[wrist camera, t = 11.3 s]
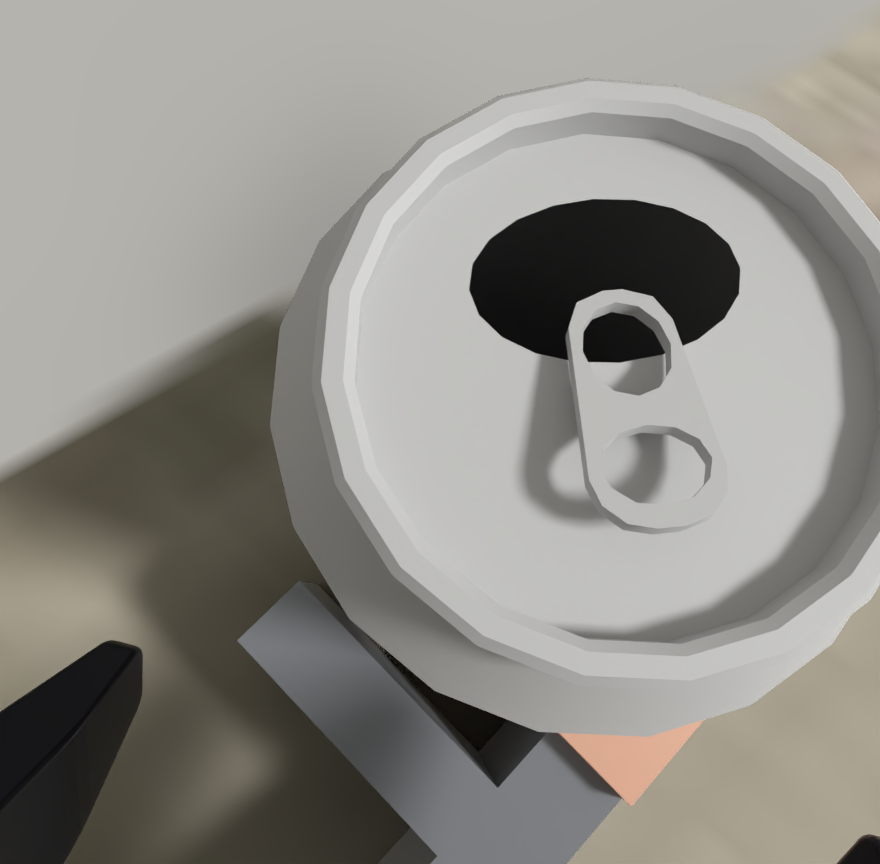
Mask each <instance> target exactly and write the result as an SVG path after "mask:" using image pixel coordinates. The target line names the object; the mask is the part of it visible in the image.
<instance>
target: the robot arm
mask: <svg viewBox="0 0 880 864" xmlns="http://www.w3.org/2000/svg"><path fill="white" fill-rule="evenodd" d="M142 671H143V656H142V651H141V649H140V648H139V647H137V646H134V645H130V644H126V643H122V642H118V641H113V640H110V641H106V642H104V643H102V644H100V645H99V646H97V647H96V648H94V649H93V650H91V651H90V652H88V653H87V654H85V655H84V656H82V657H81V658H79V659H78V660H76V661H75V662H73V663H72V664H70V665H69V666H67V667H66V668H64V669H63V670H62V671H60V672H59V673H57V674H56V675H54V676H53V677H51V678H50V679H48V680H47V681H45V682H44V683H42V684H41V685H39V686H38V687H36V688H35V689H33V690H32V691H30V692H29V693H27V694H26V695H24V696H23V697H21V698H20V699H18V700H17V701H15V702H14V703H12V704H11V705H10V706H8V707H7V708H5V709H4V710H2V711H1V712H0V864H63V863H64V862H65V860H66V858H67V857H68V855H69V853H70V851H71V850H72V848H73V846H74V844H75V842H76V840H77V839H78V837H79V835H80V833H81V831H82V829H83V827H84V825H85V823H86V821H87V819H88V817H89V815H90V812H91V810H92V808H93V806H94V804H95V801H96V799H97V797H98V795H99V793H100V790H101V788H102V786H103V784H104V782H105V779H106V777H107V775H108V773H109V771H110V768H111V766H112V764H113V762H114V760H115V758H116V755H117V753H118V751H119V749H120V747H121V744H122V742H123V740H124V738H125V736H126V733H127V731H128V729H129V727H130V725H131V722H132V720H133V718H134V716H135V714H136V711H137V709H138V706H139V703H140V700H141V696H142ZM837 864H880V837H879V836H875V835H869V834H868V835H864V836H862V837H861V838H860V839H858V841H857V842H856V843H855V844H854V845H853V846H852V847H851V848H850V849H849V851H848V852H847V853H846V854H845V855H844V856H843V857H842V858H841V859H840V860H839V862H838V863H837Z"/></svg>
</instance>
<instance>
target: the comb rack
mask: <svg viewBox="0 0 880 864" xmlns="http://www.w3.org/2000/svg"><path fill="white" fill-rule="evenodd" d="M237 641H238V642H239V643H240V644H241V645H242V646H243V647H244V649H245V650H246V651H247V652H248V653H249V654H250V655H251V656H252V657H253V658H254V659H255V660H256V661H257V663H258V664H259V665H260V666H261V667H262V668H263V669H264V670H265V671H266V672H267V673H268V674H269V675H270V676H271V678H272V679H273V680H274V681H275V682H276V683H277V684H278V685H279V686H280V687H281V688H282V689H283V690H284V692H285V693H286V694H287V695H288V696H289V697H290V698H291V699H292V700H293V701H294V702H295V703H296V704H297V706H298V707H299V708H300V709H301V710H302V711H303V712H304V713H305V714H306V715H307V716H308V717H309V718H310V720H311V721H312V722H313V723H314V724H315V725H316V726H317V727H318V728H319V729H320V730H321V731H322V732H323V734H324V735H325V736H326V737H327V738H328V739H329V740H330V741H331V742H332V743H333V744H334V745H335V746H336V748H337V749H338V750H339V751H340V752H341V753H342V754H343V755H344V756H345V757H346V758H347V759H348V760H349V761H350V763H351V764H352V765H353V766H354V767H355V768H356V769H357V770H358V771H359V772H360V773H361V774H362V775H363V777H364V778H365V779H366V780H367V781H368V782H369V783H370V784H371V785H372V786H373V787H374V788H375V789H376V791H377V792H378V793H379V794H380V795H381V796H382V797H383V798H384V799H385V800H386V801H387V802H388V803H389V805H390V806H391V807H392V808H393V809H394V810H395V811H396V812H397V813H398V814H399V815H400V816H401V817H402V819H403V820H404V821H405V822H406V823H407V824H408V825H409V826H410V828H409V829H408V830H407V832H406V833H405V834H404V835H403V836H402V837H401V838H400V839H399V840H398V841H397V843H396V844H395V845H394V846H393V847H392V848H391V849H390V850H389V851H388V853H387V854H386V855H385V856H384V857H383V858H382V859H381V860H380V861H379V862H378V864H567V862H568V861H569V860H570V859H571V858H572V856H573V855H574V854H575V853H576V852H577V851H578V849H579V848H580V847H581V846H582V845H583V843H584V842H585V841H586V840H587V839H588V838H589V836H590V835H591V834H592V833H593V832H594V830H595V829H596V828H597V827H598V826H599V825H600V823H601V822H602V821H603V820H604V819H605V817H606V816H607V815H608V814H609V813H610V812H611V810H612V809H613V808H614V807H615V806H616V804H617V803H618V802H619V801H620V800H621V798H622V799H623V800H624V801H625V802H627V803H628V804H629V805H630V806H632V805H633V804H634V803H635V802H636V800H637V799H638V798H639V797H640V796H641V794H642V793H643V792H644V791H645V790H646V789H647V787H648V786H649V785H650V784H651V783H652V781H653V780H654V779H655V778H656V777H657V775H658V774H659V773H660V772H661V771H662V769H663V768H664V767H665V766H666V765H667V764H668V762H669V761H670V760H671V759H672V758H673V756H674V755H675V754H676V753H677V752H678V750H679V749H680V748H681V747H682V746H683V744H684V743H685V742H686V741H687V740H688V739H689V737H690V736H691V735H692V734H693V733H694V731H695V730H696V729H697V728H698V727H699V725H700V724H701V723H702V722H703V721H704V720H702V721H698V722H695V723H692V724H689V725H685V726H682V727H679V728H676V729H672V730H669V731H666V732H663V733H659V734H656V735H653V736H650V737H641V736H619V735H596V734H574V733H551V732H537V731H535V730H532V729H530V728H527V727H525V726H522V725H520V724H517V723H515V722H512V721H510V720H507V721H506V722H505V723H504V724H503V726H502V727H501V728H500V729H499V730H498V731H497V732H496V733H495V734H494V735H493V737H492V738H491V739H490V740H489V741H488V742H487V743H486V744H485V745H484V747H483V748H482V749H481V750H480V751H479V752H478V751H477V750H476V749H475V748H474V747H473V746H472V745H471V743H470V742H469V741H468V740H467V739H466V738H465V737H464V736H463V735H462V734H461V733H460V732H459V731H458V730H457V729H456V728H455V727H454V726H453V725H452V724H451V723H450V722H449V721H448V719H447V718H446V717H445V716H444V715H443V714H442V713H441V712H440V711H439V710H438V709H437V708H436V707H435V706H434V705H433V704H432V703H431V702H430V701H429V700H428V699H427V698H426V697H425V695H424V694H423V693H422V692H421V691H420V690H419V689H418V688H417V687H416V686H415V685H414V684H413V683H412V682H411V681H410V680H409V679H408V678H407V677H406V676H405V675H404V674H403V673H402V671H401V670H400V669H399V668H398V667H397V666H396V665H395V664H394V663H393V662H392V661H391V660H390V659H389V658H388V657H387V656H386V655H385V654H384V653H383V652H382V651H381V650H380V649H379V648H378V646H377V645H376V644H375V643H374V642H373V641H372V640H371V639H370V638H369V637H368V636H367V635H366V634H365V633H364V632H363V631H362V630H361V629H360V628H359V627H358V626H357V625H356V624H355V623H353V622H352V621H351V620H350V619H349V618H348V616H347V614H346V613H345V612H344V611H343V610H342V609H341V608H340V607H339V606H338V605H337V604H336V603H335V602H334V601H333V600H332V598H331V597H330V596H329V595H328V594H327V593H326V592H325V591H324V590H323V589H322V588H321V587H320V586H319V585H318V584H314V583H310V582H305V581H301V580H299V581H298V582H297V583H296V584H295V585H294V586H293V587H291V588H290V589H289V590H288V591H287V592H286V593H285V594H284V595H283V596H282V597H281V598H280V599H279V600H278V601H277V602H276V603H275V604H274V605H273V606H272V607H271V608H270V609H269V610H268V611H267V612H266V613H265V614H264V615H263V616H262V617H261V618H260V619H259V620H258V621H257V622H256V623H255V624H254V625H253V626H252V627H251V628H250V629H248V630H247V631H246V632H245V633H244V634H243V635H242V636H241V637H240V638H239V639H238V640H237Z"/></svg>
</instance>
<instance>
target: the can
mask: <svg viewBox="0 0 880 864" xmlns="http://www.w3.org/2000/svg"><path fill="white" fill-rule="evenodd" d="M270 429H271V433H272V438H273V442H274V446H275V451H276V455H277V460H278V464H279V468H280V473H281V477H282V481H283V486H284V490H285V494H286V499H287V503H288V507H289V512H290V516H291V521H292V525H293V528H294V529H295V531H296V533H297V534H298V536H299V538H300V539H301V541H302V542H303V544H304V546H305V547H306V549H307V551H308V552H309V554H310V556H311V557H312V559H313V560H314V562H315V564H316V565H317V567H318V569H319V570H320V572H321V574H322V575H323V577H324V578H325V580H326V582H327V583H328V585H329V587H330V588H331V590H332V591H333V593H334V595H335V596H336V598H337V600H338V601H339V603H340V605H341V606H342V608H343V609H344V611H345V613H346V614H347V616H348V618H349V619H350V620H351V621H352V622H353V623H355V624H356V625H357V626H358V627H359V628H361V629H362V630H363V631H364V632H365V633H366V634H368V635H369V636H370V637H371V638H372V639H374V640H375V641H376V642H377V643H378V644H379V645H381V646H382V647H383V648H384V649H385V650H387V651H388V652H389V653H390V654H391V655H393V656H394V657H395V658H396V659H397V660H398V661H400V662H401V663H402V664H403V665H404V666H406V667H407V668H408V669H409V670H410V671H412V672H413V673H414V674H415V675H416V676H417V677H419V678H420V679H421V680H422V681H423V682H425V683H426V684H427V685H428V686H429V687H431V688H432V689H433V690H434V691H436V692H439V693H441V694H444V695H446V696H449V697H451V698H454V699H456V700H459V701H461V702H464V703H467V704H469V705H472V706H474V707H477V708H479V709H482V710H484V711H487V712H489V713H492V714H494V715H497V716H499V717H502V718H505V719H507V720H510V721H512V722H515V723H517V724H520V725H522V726H525V727H527V728H530V729H532V730H535V731H537V732H551V733H574V734H596V735H619V736H641V737H650V736H653V735H656V734H659V733H663V732H666V731H669V730H672V729H676V728H679V727H682V726H685V725H689V724H692V723H695V722H698V721H702V720H705V719H708V718H711V717H715V716H718V715H721V714H725V713H728V712H731V711H734V710H738V709H741V708H744V707H747V706H751V705H752V704H753V703H754V702H756V701H757V700H758V699H760V698H761V697H762V696H764V695H765V694H766V693H768V692H769V691H770V690H772V689H773V688H774V687H776V686H777V685H778V684H780V683H781V682H782V681H784V680H785V679H786V678H788V677H789V676H790V675H792V674H793V673H794V672H795V671H797V670H798V669H799V668H801V667H802V666H803V665H805V664H806V663H807V662H809V661H810V660H811V659H813V658H814V657H815V656H817V655H818V654H819V653H821V652H822V651H823V650H825V649H826V648H827V647H829V646H830V645H831V644H832V643H833V642H834V640H835V639H836V637H837V636H838V634H839V633H840V631H841V630H842V628H843V626H844V625H845V623H846V622H847V620H848V619H849V617H850V616H851V614H853V613H854V612H855V611H857V610H858V609H859V608H861V607H862V606H863V605H865V604H866V603H867V602H869V601H870V599H871V598H872V596H873V595H874V593H875V592H876V590H877V589H878V587H879V585H880V222H879V220H878V219H877V218H876V217H875V215H874V214H873V213H872V212H871V210H870V209H869V208H868V207H867V205H866V204H865V203H864V202H863V201H862V199H861V198H860V197H859V196H858V194H857V193H856V192H855V191H854V189H853V188H852V187H851V186H850V185H849V183H848V182H847V181H846V180H845V178H844V177H843V176H842V175H841V173H840V172H839V171H838V170H836V169H835V168H833V167H832V166H831V165H829V164H828V163H826V162H825V161H824V160H822V159H821V158H819V157H818V156H817V155H815V154H814V153H812V152H811V151H810V150H808V149H807V148H805V147H804V146H803V145H801V144H800V143H798V142H797V141H796V140H794V139H793V138H791V137H790V136H789V135H787V134H786V133H784V132H783V131H781V130H780V129H779V128H777V127H776V126H774V125H773V124H772V123H770V122H769V121H767V120H766V119H765V118H763V117H761V116H758V115H756V114H753V113H750V112H747V111H745V110H742V109H739V108H736V107H734V106H731V105H728V104H726V103H723V102H720V101H717V100H715V99H712V98H709V97H707V96H704V95H701V94H698V93H696V92H693V91H690V90H687V89H685V88H682V87H679V86H677V85H665V84H653V83H641V82H628V81H615V80H603V79H591V78H584V79H579V80H574V81H569V82H565V83H559V84H554V85H550V86H545V87H540V88H535V89H530V90H525V91H520V92H515V93H511V94H506V95H501V96H497V97H495V98H493V99H492V100H490V101H488V102H486V103H484V104H483V105H481V106H479V107H477V108H475V109H473V110H472V111H470V112H468V113H466V114H464V115H463V116H461V117H459V118H457V119H455V120H453V121H452V122H450V123H448V124H446V125H444V126H442V127H441V128H439V129H437V130H435V131H433V132H432V133H430V134H428V135H426V136H424V137H422V138H421V139H419V140H418V141H417V142H416V143H415V144H414V146H413V147H412V148H411V149H410V150H409V151H408V152H407V153H406V154H405V155H404V156H403V157H402V158H401V160H399V162H398V163H397V164H396V165H395V166H394V167H393V168H392V169H390V170H389V171H387V172H385V173H383V174H382V175H381V176H380V177H379V178H378V179H377V180H376V181H375V182H374V183H373V185H372V186H371V187H370V188H369V189H368V190H367V191H366V192H365V193H364V194H363V195H362V196H361V197H360V198H359V199H358V200H357V202H356V203H355V204H354V205H353V206H352V207H351V208H350V209H349V210H348V211H347V212H346V213H345V214H344V215H343V216H342V217H341V219H340V220H339V221H338V222H337V223H336V224H335V225H334V226H333V227H332V228H331V229H330V230H329V231H328V232H327V233H326V235H325V236H324V237H323V238H322V239H321V240H320V241H319V243H318V245H317V247H316V249H315V252H314V254H313V256H312V258H311V260H310V263H309V265H308V267H307V269H306V272H305V273H304V276H303V278H302V280H301V282H300V284H299V287H298V289H297V291H296V293H295V295H294V297H293V300H292V302H291V304H290V306H289V308H288V311H287V313H286V315H285V317H284V319H283V321H282V324H281V326H280V330H279V340H278V350H277V360H276V369H275V379H274V389H273V399H272V409H271V418H270Z"/></svg>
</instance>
